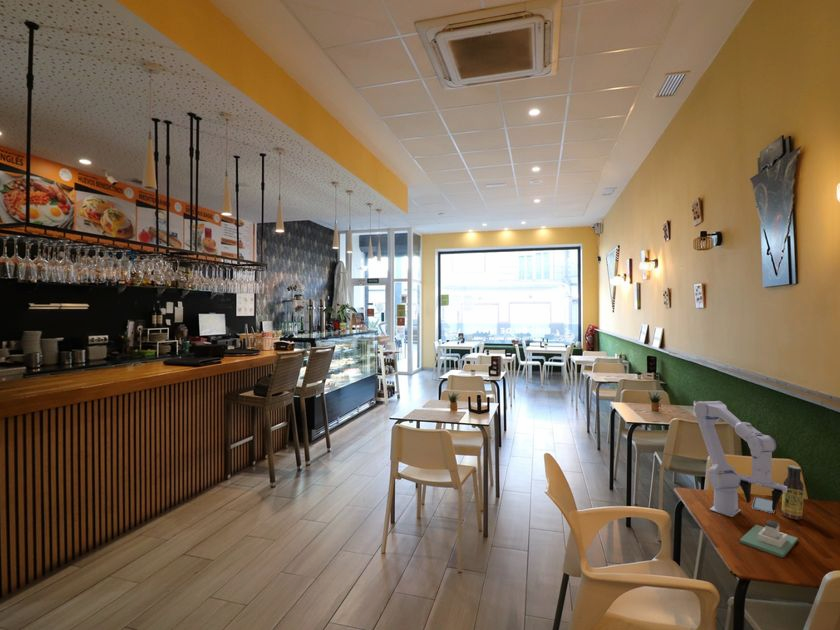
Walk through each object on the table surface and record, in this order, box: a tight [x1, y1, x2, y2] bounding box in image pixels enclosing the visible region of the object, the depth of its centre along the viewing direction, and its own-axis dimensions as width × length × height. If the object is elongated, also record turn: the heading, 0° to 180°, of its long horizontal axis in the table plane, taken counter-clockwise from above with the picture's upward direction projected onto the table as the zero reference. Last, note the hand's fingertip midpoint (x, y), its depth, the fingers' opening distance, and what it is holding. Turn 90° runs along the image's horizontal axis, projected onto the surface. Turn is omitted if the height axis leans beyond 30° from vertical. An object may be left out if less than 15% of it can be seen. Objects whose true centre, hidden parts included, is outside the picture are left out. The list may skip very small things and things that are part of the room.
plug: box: [764, 519, 780, 540], centre depth 152 cm, size 4×3×6 cm
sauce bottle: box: [781, 464, 805, 521], centre depth 171 cm, size 7×6×20 cm
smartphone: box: [751, 496, 776, 515], centre depth 182 cm, size 7×1×15 cm
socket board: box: [739, 524, 799, 559], centre depth 153 cm, size 18×12×3 cm, turn 128°
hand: (761, 505), depth 160 cm, fingers open, 7 cm apart
